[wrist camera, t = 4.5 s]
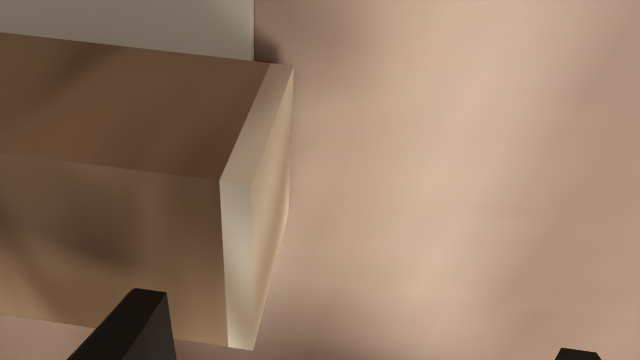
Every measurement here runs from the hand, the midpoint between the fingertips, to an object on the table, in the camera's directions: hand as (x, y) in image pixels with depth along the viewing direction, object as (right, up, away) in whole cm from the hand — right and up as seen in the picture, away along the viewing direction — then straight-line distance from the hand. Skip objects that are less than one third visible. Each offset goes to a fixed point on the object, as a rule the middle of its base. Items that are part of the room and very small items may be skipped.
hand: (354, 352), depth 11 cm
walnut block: (-2, +3, +3) cm, 5 cm away
